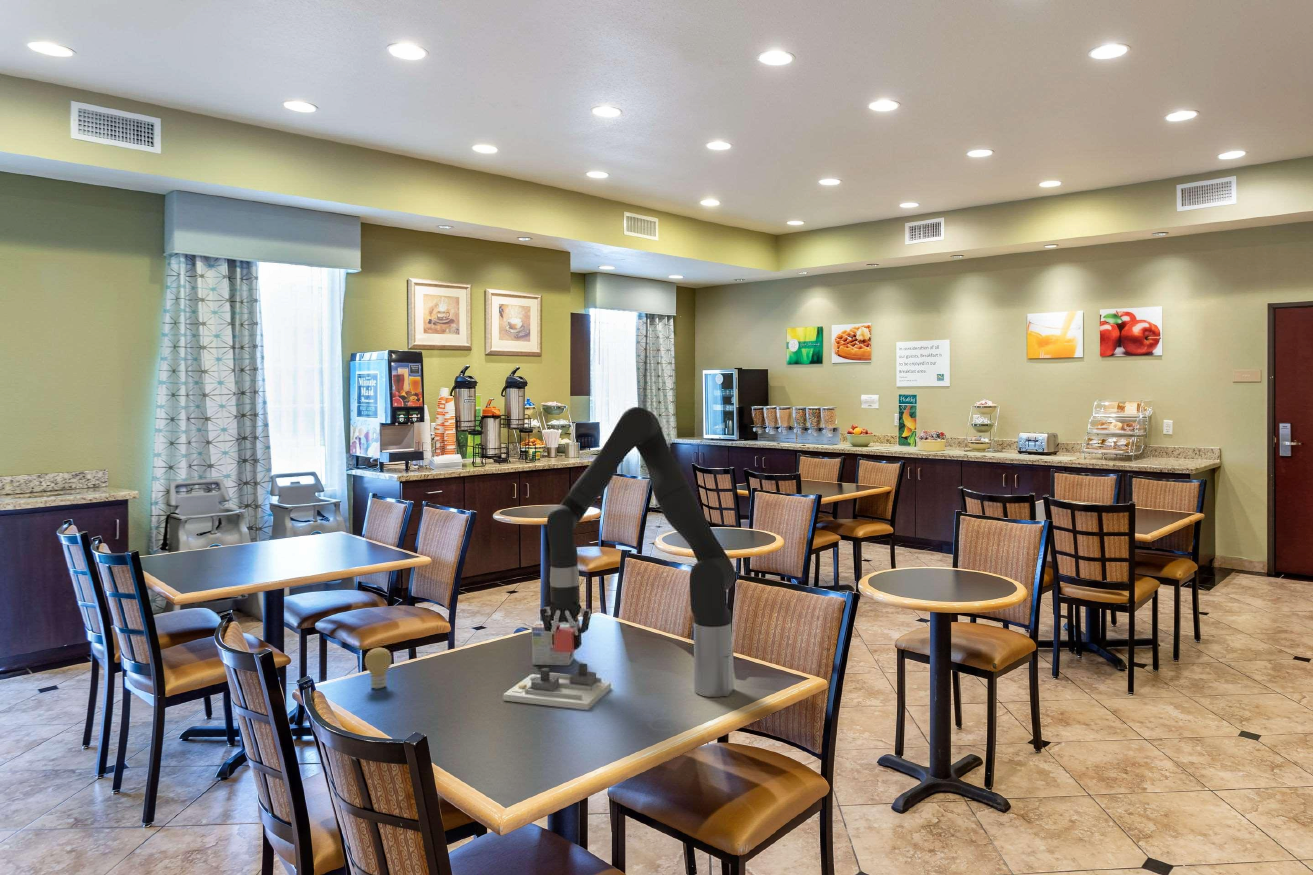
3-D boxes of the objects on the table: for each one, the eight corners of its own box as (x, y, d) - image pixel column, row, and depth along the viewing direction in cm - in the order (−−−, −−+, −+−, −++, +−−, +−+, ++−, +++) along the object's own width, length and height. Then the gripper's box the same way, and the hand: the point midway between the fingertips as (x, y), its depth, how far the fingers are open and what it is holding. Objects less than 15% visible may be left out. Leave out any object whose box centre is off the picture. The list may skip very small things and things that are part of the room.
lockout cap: (579, 647, 211) (579, 628, 211) (572, 652, 206) (571, 633, 206) (562, 646, 212) (561, 627, 212) (554, 651, 208) (553, 632, 208)
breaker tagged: (559, 687, 198) (558, 666, 198) (550, 694, 193) (549, 673, 193) (540, 685, 200) (540, 665, 200) (531, 692, 195) (531, 671, 195)
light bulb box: (574, 658, 226) (574, 620, 226) (569, 666, 220) (569, 626, 219) (537, 657, 227) (536, 619, 227) (531, 665, 221) (530, 626, 220)
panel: (610, 688, 202) (610, 662, 202) (587, 709, 188) (587, 681, 187) (531, 679, 209) (531, 654, 208) (503, 700, 194) (502, 673, 194)
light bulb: (360, 688, 203) (359, 649, 203) (379, 681, 209) (378, 643, 208) (378, 693, 200) (377, 653, 200) (397, 684, 206) (396, 646, 205)
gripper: (595, 580, 210) (597, 645, 211) (545, 579, 215) (547, 642, 215) (584, 587, 203) (587, 653, 204) (533, 585, 207) (535, 650, 208)
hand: (566, 647), depth 209 cm, fingers closed on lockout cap, 5 cm apart
